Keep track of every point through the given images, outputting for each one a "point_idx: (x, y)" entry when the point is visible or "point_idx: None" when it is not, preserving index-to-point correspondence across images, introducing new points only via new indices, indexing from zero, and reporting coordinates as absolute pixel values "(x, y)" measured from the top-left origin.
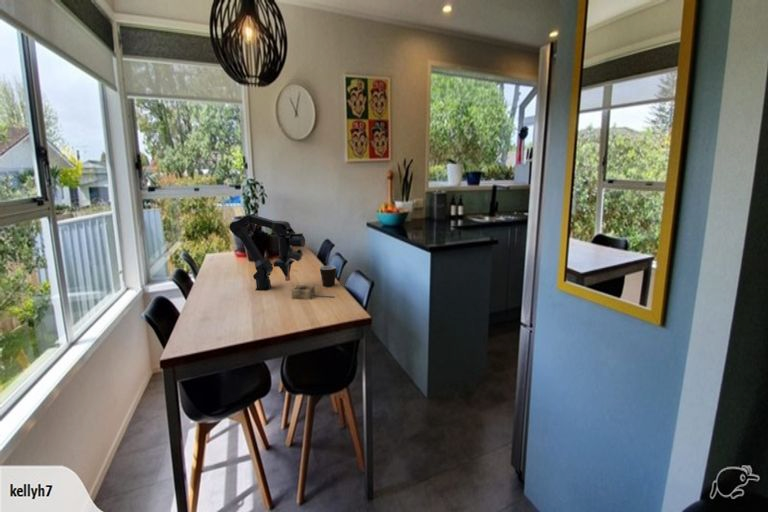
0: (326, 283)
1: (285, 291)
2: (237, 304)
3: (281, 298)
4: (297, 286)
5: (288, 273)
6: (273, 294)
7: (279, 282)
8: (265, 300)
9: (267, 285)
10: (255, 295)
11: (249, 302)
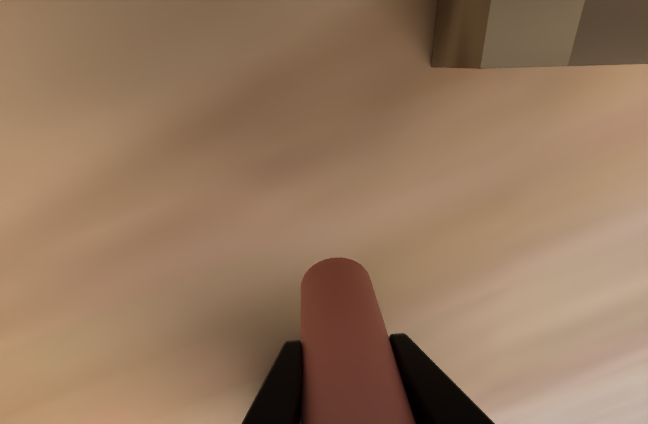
0: None
1: (383, 227)
2: (636, 407)
3: (593, 182)
4: (547, 41)
5: (382, 359)
6: (465, 292)
7: (131, 375)
8: (608, 290)
9: None
10: (474, 393)
11: (620, 366)
